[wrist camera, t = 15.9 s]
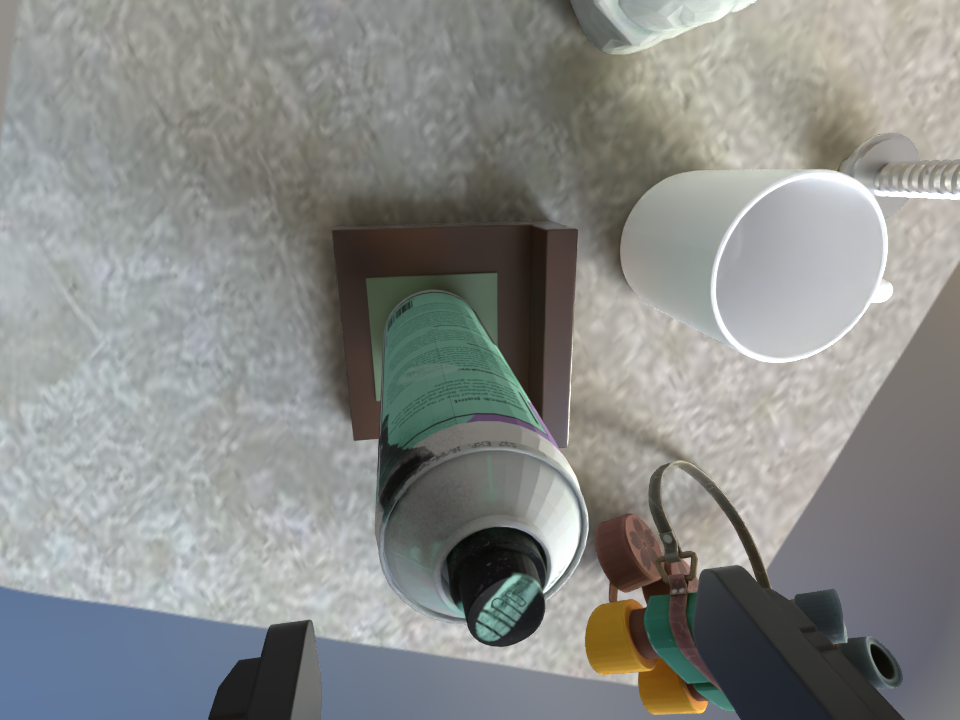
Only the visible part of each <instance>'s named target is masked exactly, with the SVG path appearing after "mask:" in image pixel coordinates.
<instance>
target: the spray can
mask: <svg viewBox="0 0 960 720" xmlns="http://www.w3.org/2000/svg"><path fill="white" fill-rule="evenodd" d="M588 530H589V529H588V512H587V508H586V505H585V501H584V498H583V495H582V494H581V491H580V488H579V484H578V481H577V478H576V476H575V474H574V472H573V470H572V469H571V467H570V465H569V463H568V462H567V460H566V458H565V457H564V455H563V454H562V452H561V450H560V449H559V447H558V445H557V444H556V442H555V440H554V439H553V437H552V436H551V434H550V432H549V431H548V429H547V427H546V426H545V424H544V423H543V421H542V419H541V418H540V416H539V414H538V413H537V411H536V410H535V408H534V406H533V405H532V403H531V401H530V400H529V398H528V396H527V395H526V393H525V392H524V390H523V388H522V387H521V385H520V383H519V382H518V380H517V379H516V377H515V375H514V374H513V372H512V370H511V369H510V367H509V365H508V364H507V362H506V361H505V359H504V357H503V356H502V354H501V352H500V351H499V349H498V348H497V346H496V344H495V343H494V341H493V339H492V338H491V336H490V335H489V333H488V331H487V330H486V328H485V326H484V325H483V323H482V321H481V320H480V318H479V317H478V315H477V313H476V312H475V310H474V309H473V308H472V307H471V306H470V305H469V304H468V303H467V302H466V301H465V300H464V299H462V298H461V297H460V296H457V295H455V294H453V293H451V292H447V291H444V290H433V289H431V290H424V291H420V292H417V293H414V294H412V295H410V296H408V297H406V298H405V299H403V300H402V301H401V302H400V303H399V304H398V305H396V307H395V308H394V309H393V311H392V312H391V313H390V315H389V318H388V320H387V322H386V325H385V329H384V334H383V356H382V379H381V401H380V424H379V446H378V468H377V491H376V513H375V536H376V540H377V545H378V550H379V558H380V562H381V567H382V571H383V573H384V575H385V577H386V579H387V581H388V583H389V585H390V587H391V588H392V589H393V590H394V592H395V593H396V594H397V595H398V596H399V598H400V599H401V600H402V601H404V602H405V603H406V604H408V605H409V606H410V607H411V608H413V609H414V610H416V611H418V612H420V613H422V614H424V615H426V616H428V617H430V618H432V619H436V620H439V621H443V622H446V623H452V624H461V625H467V626H468V628H469V631H470V633H471V634H472V635H473V637H474V638H475V639H477V640H478V641H479V642H481V643H483V644H485V645H490V646H498V647H504V646H510V645H513V644H516V643H518V642H520V641H522V640H524V639H526V638H527V637H529V636H530V635H531V634H533V633H534V632H535V631H536V630H537V628H538V627H539V626H540V624H541V622H542V620H543V617H544V613H545V601H546V600H547V599H548V598H549V597H551V596H552V595H553V594H555V593H556V592H557V591H558V590H559V589H560V588H561V587H562V585H563V584H564V583H565V582H566V581H567V580H568V579H569V578H570V576H571V575H572V573H573V572H574V570H575V568H576V567H577V565H578V564H579V562H580V559H581V557H582V554H583V552H584V549H585V547H586V541H587V535H588Z"/></svg>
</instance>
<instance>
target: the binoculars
mask: <svg viewBox="0 0 960 720" xmlns="http://www.w3.org/2000/svg"><path fill="white" fill-rule="evenodd" d="M670 466H676V467H679V468H681V469H683V470H684V471H686V472H687V473H689V474H690V475H691V476H693V477H694V478H695V479H696V480H698V481H699V482H700V483H701V484H702V485H703V486H704V487H705V488H706V490H707V491H708V492H709V493H710V494H711V495H712V496H713V497H714V499H715V500H716V501H717V502H718V504H719V505H720V507H721V508H722V509H723V511H724V512H725V513H726V515H727V516H728V518H729V520H730V521H731V523H732V524H733V526H734V528H735V530H736V531H737V533H738V535H739V538H740V540H741V542H742V544H743V546H744V548H745V550H746V553H747V555H748V557H749V560H750V563H751V565H752V568H753V571H754V574H755V577H756V580H757V583H758V584H759V585H760V586H761V587H762V588H763V589H765V588H771V584H770V581H769V578H768V575H767V572H766V569H765V567H764V564H763V561H762V558H761V556H760V553H759V551H758V549H757V547H756V544H755V542H754V540H753V538H752V536H751V534H750V532H749V530H748V528H747V526H746V524H745V523H744V521H743V519H742V518H741V516H740V515H739V513H738V511H737V510H736V509H735V507H734V506H733V504H732V503H731V502H730V500H729V499H728V498H727V496H726V495H725V494H724V492H723V491H722V490H721V489H720V488H719V487H718V486H717V485H716V483H715V482H714V481H713V480H712V479H711V478H710V477H709V476H707V475H706V474H705V473H704V472H703V471H702V470H700V469H699V468H698V467H696V466H695V465H693V464H691V463H689V462H687V461H674V462H671V463H668V464H665V465H662V466H660V467H659V468H658V469H657V470H656V471H655V472H654V473H653V475H652V476H651V479H650V484H649V506H650V511H651V514H652V517H653V519H654V522H655V524H656V526H657V529H658V531H659V533H660V534H659V535H660V538H661V540H662V542H663V544H664V551H665V556H663V555H662V552H661V549H660V546H659V544H658V542H657V540H656V538H655V536H654V535H653V533H652V531H651V530H650V529H649V527H648V526H647V525H646V524H645V523H644V522H643V521H642V520H641V519H640V518H638V517H637V516H635V515H633V514H626V515H622V516H619V517H616V518H612V519H609V520H606V521H603V522H601V523H599V524H598V526H597V528H596V532H595V546H596V552H597V556H598V559H599V562H600V564H601V567H602V569H603V571H604V573H605V574H606V576H607V578H608V579H609V580H610V586H609V601H610V603H606V604H602V605H600V606H598V607H597V608H596V609H595V610H594V611H593V612H592V614H591V616H590V618H589V621H588V624H587V628H586V635H585V647H586V653H587V657H588V660H589V663H590V665H591V666H592V668H593V669H594V670H595V671H596V672H597V673H599V674H602V675H609V674H621V673H632V672H639V676H638V684H639V692H640V697H641V700H642V702H643V705H644V706H645V708H646V709H647V710H648V711H649V712H650V713H652V714H684V713H702V712H704V710H705V709H706V706H707V701H712V702H713V703H715V704H716V705H717V706H719V707H721V708H722V709H724V710H727V711H733V710H734V708H733V707H732V705H731V704H730V702H729V700H728V699H727V697H726V696H725V694H724V693H723V691H722V690H721V688H720V687H719V685H718V683H717V682H716V680H715V679H714V677H713V676H712V674H711V673H710V671H709V669H708V668H707V666H706V665H705V663H704V662H703V660H702V658H701V657H700V655H699V653H698V651H697V648H696V645H695V642H694V638H693V631H692V623H693V616H694V610H695V603H696V596H697V590H698V583H699V580H698V579H697V577H696V573H697V562H698V558H697V555H696V553H695V552H692V551H686V552H682V551H681V547H680V545H679V542H678V540H677V538H676V536H675V534H674V531H673V529H672V527H671V525H670V523H669V520H668V518H667V516H666V513H665V510H664V507H663V503H662V480H663V476H664V474H665V472H666V471H667V470H668V469H669V467H670ZM689 557H691V567H690V566H689V565H688V564H687V563H686V562H685V561H684V560H683V558H689ZM640 587H642V590H643V594H644V598H645V600H646V603H647V607H646V608H643V607H642V606H641V605H640V604H639V603H638V602H637V601H635V600H633V599H629V600H623V601H617V593H618V589H619V590H620V591H622V592H630V591H633V590H635V589H638V588H640ZM771 589H772V588H771ZM789 601H791V602H793V603H794V604H796V605H797V606H798V607H799V608H800V609H801V610H802V611H803V613H804V614H805V615H806V616H807V617H808V618H809V619H810V620H811V621H812V622H813V623H814V624H815V625H816V626H817V630H818V631H821V632H822V633H823V634H824V635H825V636H826V637H827V638H828V639H829V640H830V641H831V642H832V643H833V644H834V648H835V649H836V650H839V651H840V652H841V653H842V654H843V655H844V656H845V657H846V658H847V659H848V660H849V661H850V662H851V663H852V664H853V665H854V667H855V668H856V669H857V670H858V671H859V672H860V673H861V674H862V675H863V676H864V677H865V678H866V679H867V680H868V681H869V682H870V684H871V685H872V686H873V687H874V688H875V689H878V688H879V689H881V688H896V687H899V686H900V685H901V683H902V680H903V677H902V676H903V675H902V671H901V668H900V666H899V664H898V662H897V660H896V659H895V658H894V656H893V655H892V654H891V652H890V651H889V650H888V649H887V648H886V647H885V646H884V645H883V644H882V643H880V642H879V641H878V640H876V639H875V638H873V637H870V636H868V637H859V638H848V639H847V631H846V627H845V624H844V620H843V614H842V608H841V603H840V600H839V597H838V594H837V592H836V591H835V589H830V590H823V591H817V592H810V593H804V594H797V595H796V596H795V598H794V599H793V600H789Z"/></svg>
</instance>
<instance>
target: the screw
mask: <svg viewBox="0 0 960 720" xmlns="http://www.w3.org/2000/svg"><path fill="white" fill-rule="evenodd" d="M838 172H841V173H843V174H846V175H848V176H850V177H852V178H854V179H856V180H857V181H859V182H860V183H861V184H862V185H864V186H865V187H866V188H867V189H868V190H869V191H870V193H871V194H872V195H873V196H874V198H875V199H876V201H877V203H878V204H879V206H880V209H881V211H882V213H883V216H884V219H886V218H888V217H890V216H892V215H893V214H894V213H896V212H897V211H899V210H900V209H901V208H902V207H903V206H904V204H905V203H906V202H907V201H908V199H909V198H910V197H919V198H923V197H927V198H936V197H937V198H940V199H944V198H949V199H958V198H959V199H960V160H954V161H951V160H943V161H939V160H933V161H927V160H923V161H920V158H919V154H918V151H917V149H916V147H915V145H914V143H913V142H912V141H911V140H910V139H909V138H907V137H905V136H903V135H901V134H897V133H886V134H879V135H876V136H873V137H871V138H869V139H868V140H866V141H864V142H863V143H862V144H861V145H860V146H858V147H857V148H856V149H855V150H854V152H853V153H852V154H851V156H850V157H849V158H848V159H847V160H844V161H843V162H842V164H841V166H840V168H839V171H838Z"/></svg>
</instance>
